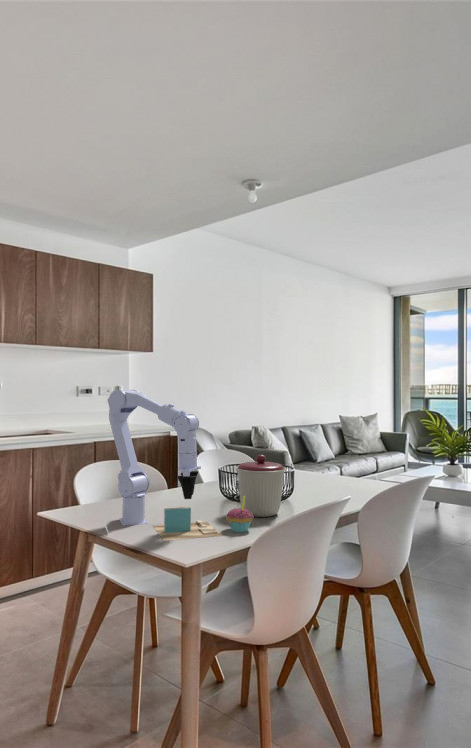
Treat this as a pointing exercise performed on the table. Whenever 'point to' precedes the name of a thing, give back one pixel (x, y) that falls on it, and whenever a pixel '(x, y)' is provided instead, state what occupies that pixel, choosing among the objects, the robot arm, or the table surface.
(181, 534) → the cork mat
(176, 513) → the tile
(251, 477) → the canister
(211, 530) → the wooden turner
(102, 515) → the table surface
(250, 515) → the cupcake
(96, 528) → the table surface
